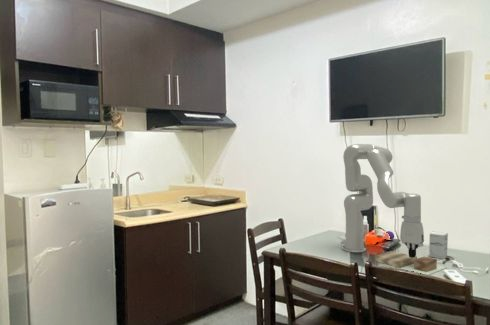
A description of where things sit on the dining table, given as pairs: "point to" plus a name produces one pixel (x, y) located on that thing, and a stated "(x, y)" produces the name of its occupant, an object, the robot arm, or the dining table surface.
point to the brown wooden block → (425, 264)
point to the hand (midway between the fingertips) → (412, 256)
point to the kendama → (390, 234)
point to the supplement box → (438, 245)
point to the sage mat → (411, 268)
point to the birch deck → (395, 259)
